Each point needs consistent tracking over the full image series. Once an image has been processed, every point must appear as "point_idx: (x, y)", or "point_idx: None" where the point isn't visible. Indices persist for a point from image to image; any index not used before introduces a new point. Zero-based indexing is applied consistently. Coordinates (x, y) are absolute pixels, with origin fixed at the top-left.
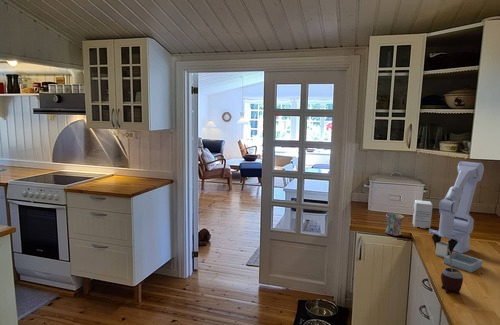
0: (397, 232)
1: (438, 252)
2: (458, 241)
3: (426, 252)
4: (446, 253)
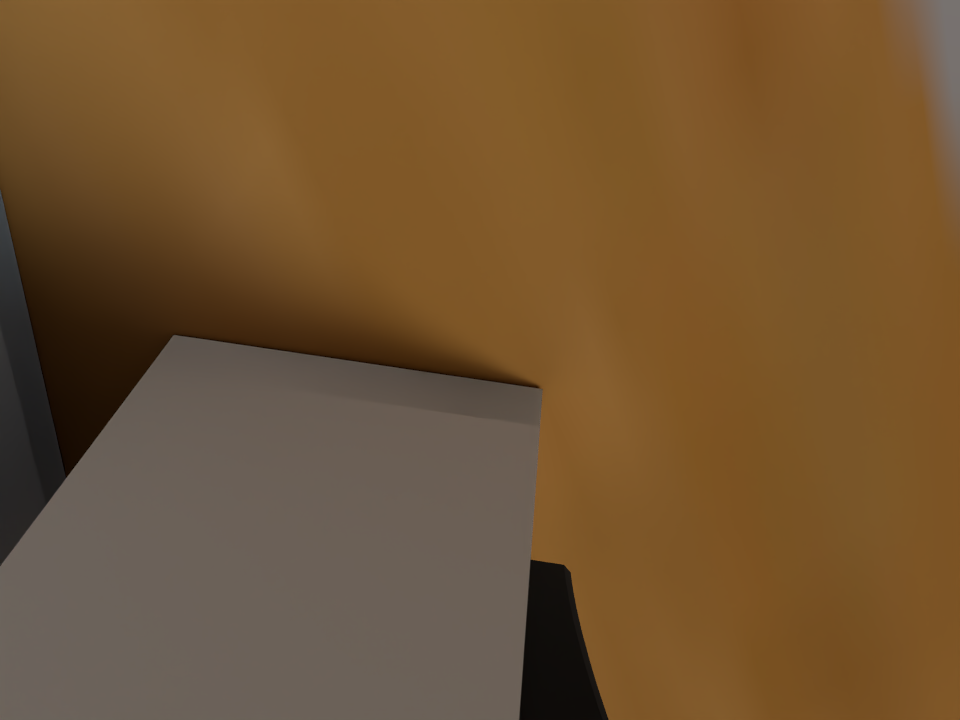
0: None
1: (418, 464)
2: None
3: (846, 421)
4: (85, 457)
